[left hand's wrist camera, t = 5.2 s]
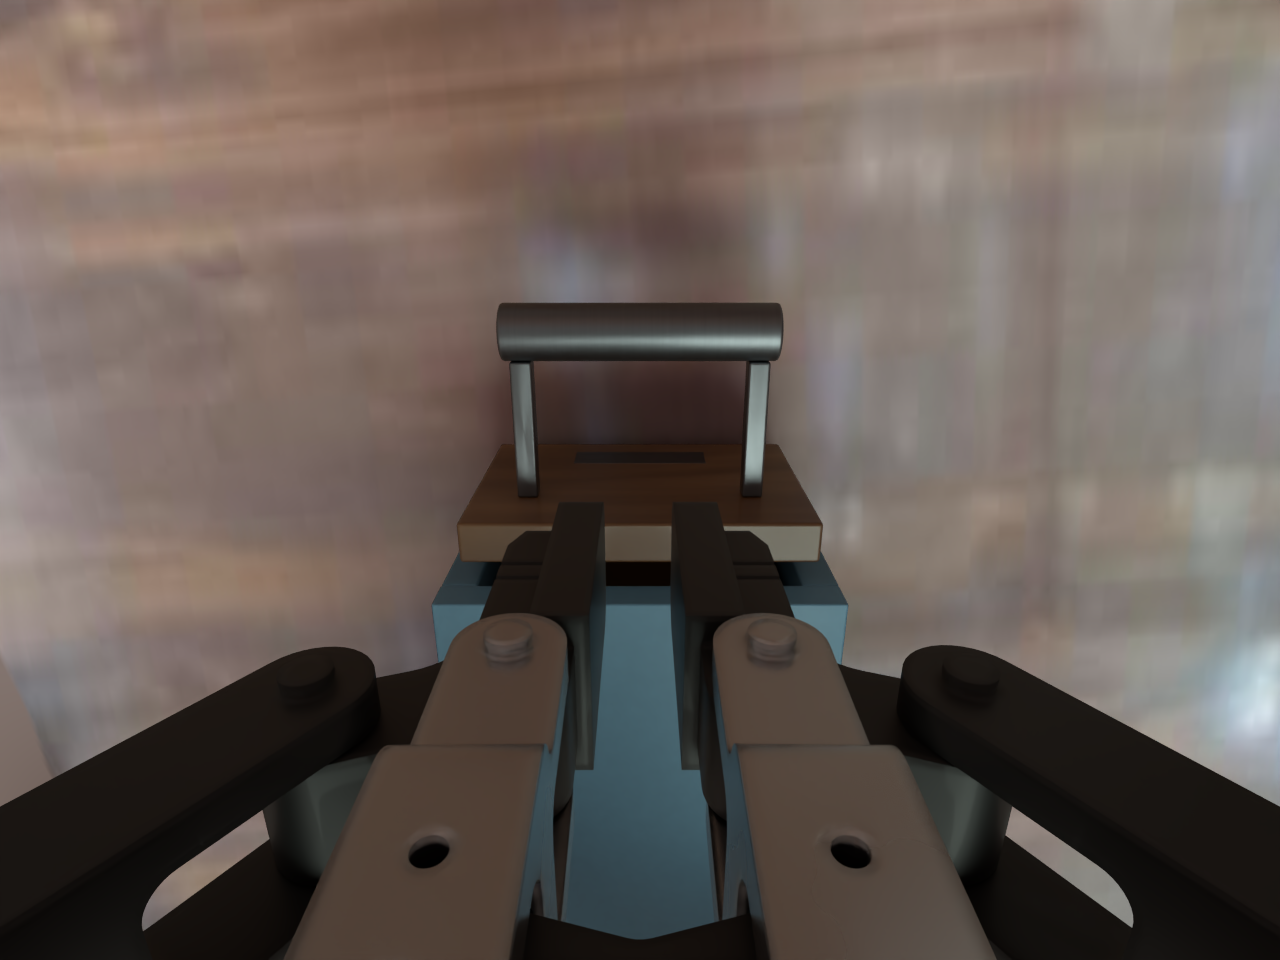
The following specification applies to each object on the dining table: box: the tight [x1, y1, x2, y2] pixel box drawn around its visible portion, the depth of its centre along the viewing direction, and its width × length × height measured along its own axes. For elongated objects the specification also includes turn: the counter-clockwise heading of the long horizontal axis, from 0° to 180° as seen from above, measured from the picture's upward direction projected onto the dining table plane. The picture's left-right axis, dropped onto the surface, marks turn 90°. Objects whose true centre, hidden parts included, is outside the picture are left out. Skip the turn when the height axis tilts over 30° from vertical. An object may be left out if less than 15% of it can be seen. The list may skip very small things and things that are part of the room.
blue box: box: [432, 551, 848, 939], centre depth 27 cm, size 21×11×9 cm, turn 0°
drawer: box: [457, 303, 823, 586], centre depth 25 cm, size 25×10×7 cm, turn 0°
